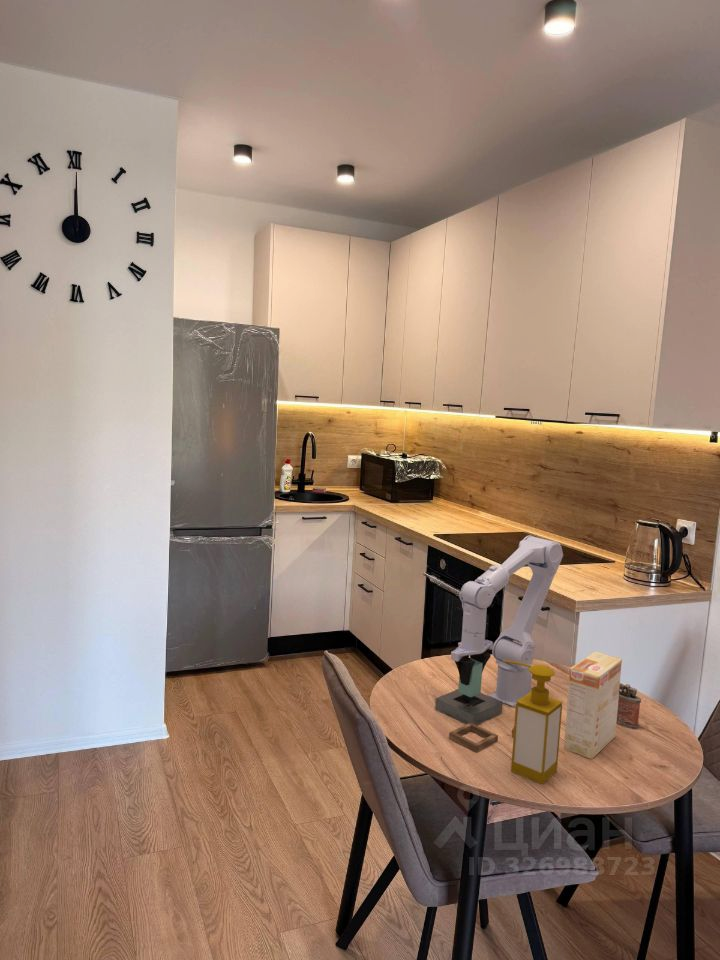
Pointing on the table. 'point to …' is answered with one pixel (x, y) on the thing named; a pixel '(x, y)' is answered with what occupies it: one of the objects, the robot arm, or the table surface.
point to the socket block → (476, 714)
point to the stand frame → (457, 737)
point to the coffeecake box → (592, 704)
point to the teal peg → (472, 681)
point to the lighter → (628, 707)
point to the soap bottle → (536, 729)
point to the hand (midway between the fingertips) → (470, 681)
